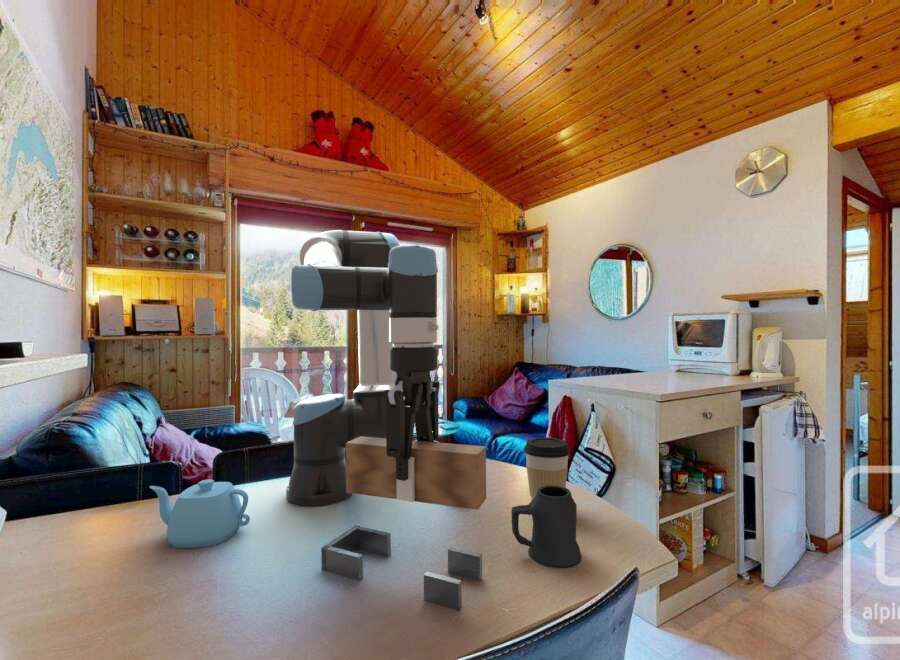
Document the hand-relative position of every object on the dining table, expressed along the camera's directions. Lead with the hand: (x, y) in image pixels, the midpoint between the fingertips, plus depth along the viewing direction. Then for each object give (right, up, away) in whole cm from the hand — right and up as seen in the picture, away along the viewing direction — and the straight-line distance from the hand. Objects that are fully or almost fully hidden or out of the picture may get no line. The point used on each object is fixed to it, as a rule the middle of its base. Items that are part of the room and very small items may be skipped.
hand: (414, 493), depth 70 cm
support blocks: (+6, -14, -3) cm, 15 cm away
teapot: (-51, -9, +14) cm, 54 cm away
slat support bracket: (-10, -14, +5) cm, 18 cm away
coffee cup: (+26, -14, +25) cm, 39 cm away
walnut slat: (0, 0, 0) cm, 0 cm away
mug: (+22, -14, +7) cm, 27 cm away
